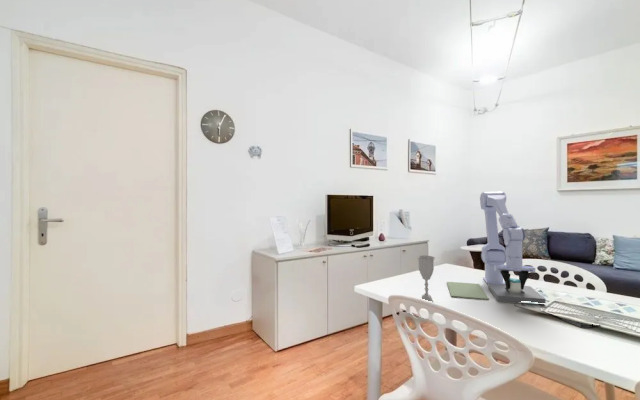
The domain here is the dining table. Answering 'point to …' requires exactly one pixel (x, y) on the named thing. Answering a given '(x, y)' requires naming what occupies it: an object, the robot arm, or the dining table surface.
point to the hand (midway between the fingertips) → (514, 288)
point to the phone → (577, 323)
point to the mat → (466, 290)
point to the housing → (515, 294)
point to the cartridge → (515, 286)
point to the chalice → (426, 272)
